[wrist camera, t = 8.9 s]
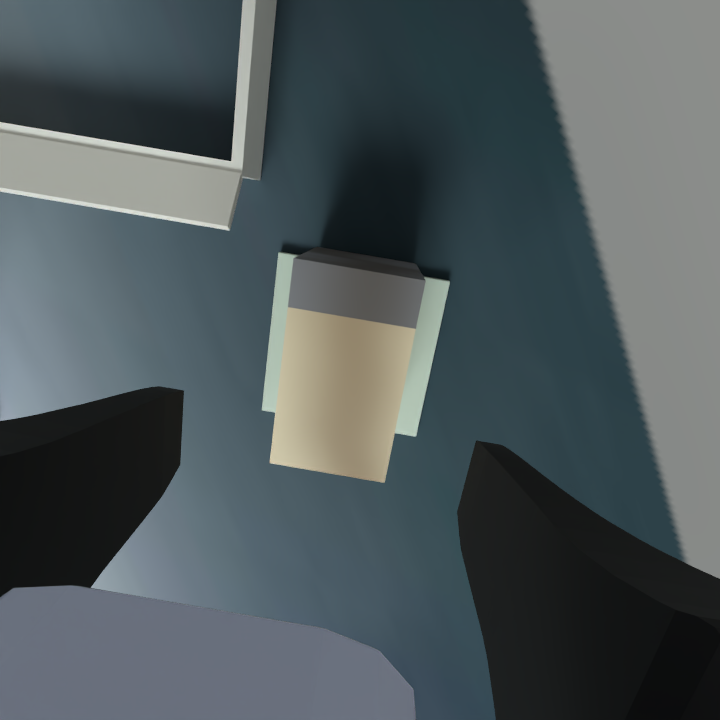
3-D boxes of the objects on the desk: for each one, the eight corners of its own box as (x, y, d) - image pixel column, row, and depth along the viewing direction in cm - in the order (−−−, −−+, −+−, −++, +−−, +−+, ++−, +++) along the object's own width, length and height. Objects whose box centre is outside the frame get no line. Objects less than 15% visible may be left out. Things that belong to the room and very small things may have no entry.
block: (296, 406, 21) (269, 462, 16) (316, 246, 19) (293, 258, 14) (384, 421, 21) (384, 482, 16) (415, 263, 19) (425, 280, 14)
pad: (264, 406, 21) (261, 410, 21) (280, 251, 19) (278, 252, 19) (415, 432, 21) (415, 436, 21) (448, 280, 19) (449, 282, 19)
